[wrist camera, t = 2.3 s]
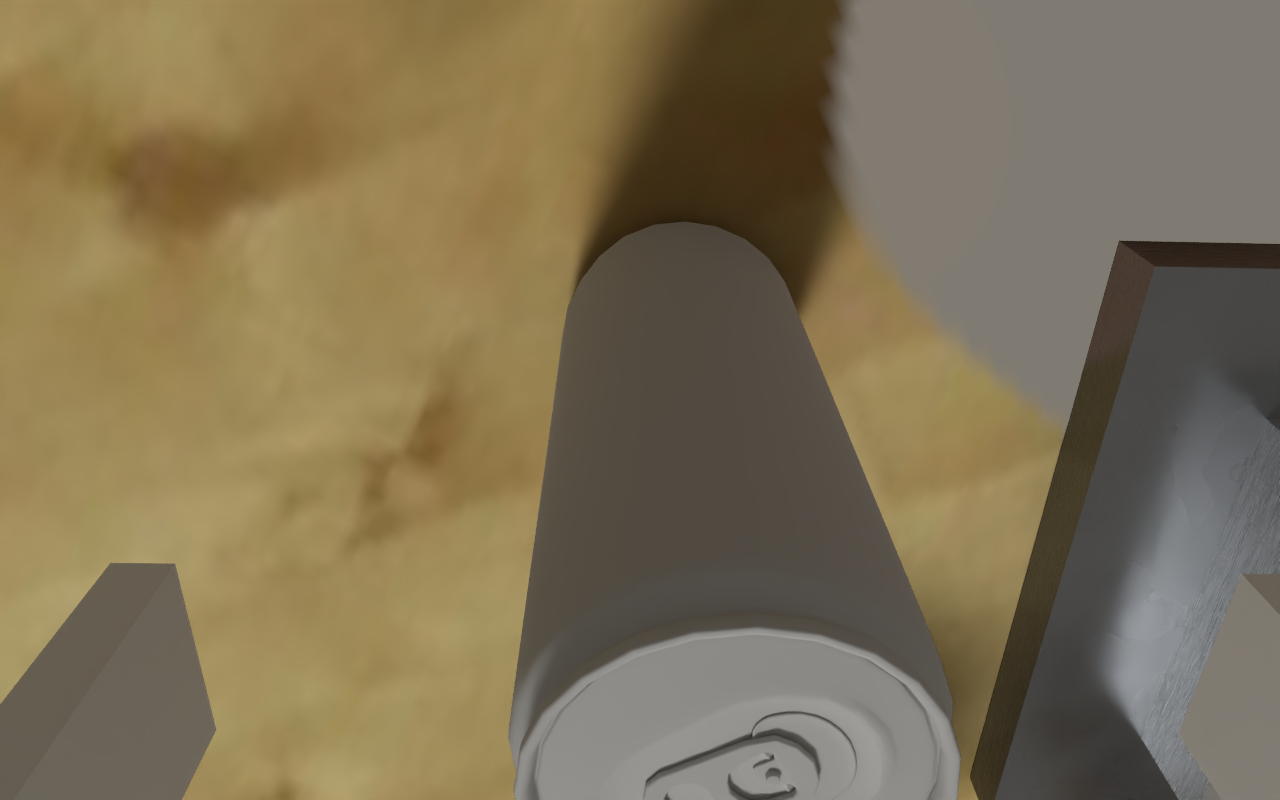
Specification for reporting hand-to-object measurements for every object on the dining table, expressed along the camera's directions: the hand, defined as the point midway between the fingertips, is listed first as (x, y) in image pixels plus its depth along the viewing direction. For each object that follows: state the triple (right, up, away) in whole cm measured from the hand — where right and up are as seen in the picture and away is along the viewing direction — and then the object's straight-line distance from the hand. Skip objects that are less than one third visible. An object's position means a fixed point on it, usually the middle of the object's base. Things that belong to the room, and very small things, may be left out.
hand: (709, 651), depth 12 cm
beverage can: (0, +5, +8) cm, 10 cm away
